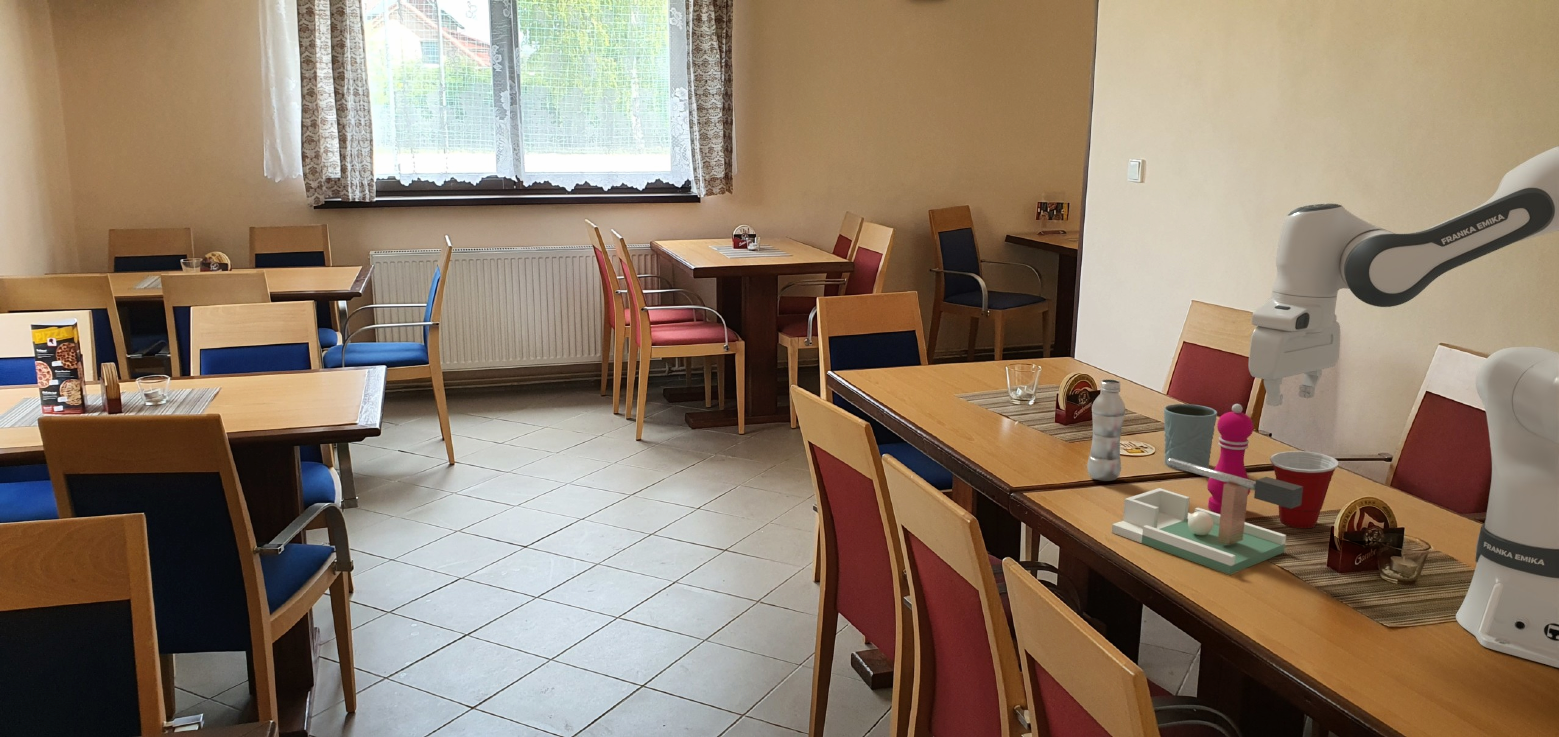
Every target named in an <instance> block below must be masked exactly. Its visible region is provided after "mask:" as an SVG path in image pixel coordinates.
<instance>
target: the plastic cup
mask: <svg viewBox="0 0 1559 737" xmlns="http://www.w3.org/2000/svg"><path fill="white" fill-rule="evenodd" d="M1269 460H1270V463H1271V464H1272V466H1273V470H1274V476H1275V479H1277V480H1280V481H1284V482H1288V483H1291V484H1295V485H1299V486H1302V487H1303V493H1302V501H1301V505H1300V506H1297V507H1295V508H1292V509H1289V508H1286V507H1283V506H1279V505H1278V518H1279V521H1280V522H1281V523H1282V524H1283V525H1286V526H1288V527H1291V528H1297V529H1311V527H1313V528H1314V526H1316V524H1317V523H1318V519H1319V516H1320V513H1321V510H1322V509H1323V505H1324V502H1325V498H1326V496H1327V492H1328V489H1329V486H1330V482H1331V481H1332V477H1333V476H1334V473H1335V470H1336V469H1337V468H1338V467H1339V461H1338V459H1336V458H1335V457H1332V456H1330V455H1327V454H1324V453H1319V452H1313V451H1302V450H1293V451H1290V450H1289V451H1283V452H1277V453H1275V454H1272V455H1271V456H1270V458H1269Z"/></svg>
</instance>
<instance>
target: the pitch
mask: <svg viewBox="0 0 1559 737" xmlns="http://www.w3.org/2000/svg"><path fill="white" fill-rule="evenodd" d="M1123 505H1124V506H1123V515H1122V516H1123V518H1122V521H1118V522H1115V523H1111V533H1112V534H1114V535H1118V536H1120V537H1123V538H1126V539H1129V540H1132V541H1135V542H1136V543H1140V544H1142V545H1145V546H1149V547H1150V548H1154V549H1156V550H1160V551H1161V552H1162V551H1163V552H1165V553H1168V554H1170V555H1171V554H1172V555H1174V556H1175V557H1179V558H1181V559H1184V560H1186V561H1191V562H1193V563H1196V564H1198V565H1201V566H1203V567H1207V568H1210V569H1213V570H1215V571H1218V572H1221V573H1224V574H1226V575H1228V576H1230V575H1233V574H1236V573H1238V572H1240V571H1243V570H1245V569H1248V568H1250V567H1252V566H1254V565H1257V564H1260V563H1262V562H1264V561H1266V560H1269V559H1271V558H1273V557H1276V556H1278V555H1281V554H1284V553H1285V548H1286V539H1287V534H1284V533H1282V532H1277V531H1275V530H1271V529H1269V528H1268V529H1267V528H1264V527H1261V526H1259V525H1255V524H1252V523H1249V522H1246V521H1245V524H1244V533H1243V540H1242V541H1239V542H1236V543H1234V544H1231V545H1227V544H1224V543H1221V542H1218V534H1219V525H1220V515H1221V514H1219V513H1216V512H1213V511H1211V510H1209V509H1208V510H1207V509H1204V508H1201V507H1196V508H1194V513H1195V512H1198V511H1202V512H1205V513H1207V514H1209V515H1210V516H1211V518H1212V519H1213V529H1212V530H1211V532H1210V533H1208V534H1206V535H1196V534H1194V533H1193V532H1192V531H1191V530H1190V529H1189V527H1188V519H1189V517H1190V516H1191V515H1192V514H1193V513H1190V512H1189V508H1190V496H1186V495H1184V494H1183V495H1182V494H1180V493H1177V492H1175V491H1174V492H1173V491H1170V490H1167V489H1164V488H1160V487H1159V488H1156V489H1155V488H1154V489H1152V490H1149V491H1145V492H1143V493H1140V494H1136V495H1132V496H1129V497H1127V498H1124V504H1123Z"/></svg>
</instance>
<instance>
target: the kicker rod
mask: <svg viewBox="0 0 1559 737" xmlns="http://www.w3.org/2000/svg"><path fill="white" fill-rule="evenodd" d="M1167 464H1168V465H1169V466H1171V467H1175V468H1178V469H1182V470H1185V471H1184V472H1188V471H1189V472H1190V473H1193V474H1196V475H1200V476H1204V477H1206V478H1209V477H1210V478H1213V479H1217V480H1220V481H1224V482H1227V483H1226V484H1224V487H1223V496H1222V506H1221V514H1220V525H1219V534H1218V542H1221V543H1224V544H1227V545H1231V544H1234V543H1236V542H1239V541H1242V540H1243V533H1244V524H1245V522H1246V514H1247V503H1248V497H1249V495H1248V489H1250V490H1251V491H1252V490H1253V491H1254V496H1253V499H1254V500H1255V499H1256V500H1259V501H1263V502H1266V503H1270V504H1273V505H1277V506H1278V507H1279V506H1283V507H1286V508H1289V509H1292V508H1295V507H1297V506H1300V505H1301V501H1302V493H1303V487H1302V486H1299V485H1295V484H1291V483H1288V482H1284V481H1280V480H1277V479H1276V478H1272V477H1270V476H1269V477H1268V476H1263V477H1261V478H1258V479H1255V480H1252V479H1249V480H1248V479H1245V478H1241V477H1238V476H1234V475H1230V474H1227V473H1223V472H1220V471H1216V470H1214V469H1212V468H1209V467H1208V468H1205V467H1202V466H1198V465H1195V464H1191V463H1187V462H1184V461H1180V460H1177V459H1173V458H1169V459H1168V460H1167ZM1189 472H1188V473H1189Z"/></svg>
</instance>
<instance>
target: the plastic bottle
mask: <svg viewBox="0 0 1559 737" xmlns="http://www.w3.org/2000/svg"><path fill="white" fill-rule="evenodd" d="M1099 390H1100V391H1101V392H1100V394H1098V396H1097V397H1096V398H1095V400H1094V401H1092V402H1093V403H1092V405H1091V412H1092V413H1091V415H1092V416H1091V418H1092V441H1091V447H1090V452H1089V453H1090V454H1089V455H1088V460H1087V466H1086V467H1087V474H1088V475H1089V477H1090V478H1091V479H1093V480H1098V481H1100V482H1101V481H1102V482H1110V481H1116V480H1117V479H1118V478H1119V477H1120V474H1121V472H1122V460H1121V434H1122V428H1123V425H1124V419H1125V415H1126V405H1125V403H1124V400H1123V399H1122V397H1121V395H1120V394H1119V393H1120V392H1121V381H1120V380H1116V379H1101V381H1100V387H1099Z"/></svg>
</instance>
